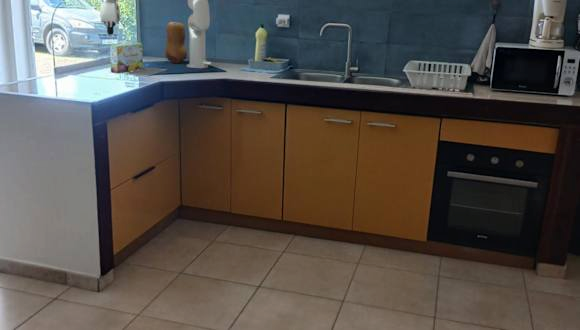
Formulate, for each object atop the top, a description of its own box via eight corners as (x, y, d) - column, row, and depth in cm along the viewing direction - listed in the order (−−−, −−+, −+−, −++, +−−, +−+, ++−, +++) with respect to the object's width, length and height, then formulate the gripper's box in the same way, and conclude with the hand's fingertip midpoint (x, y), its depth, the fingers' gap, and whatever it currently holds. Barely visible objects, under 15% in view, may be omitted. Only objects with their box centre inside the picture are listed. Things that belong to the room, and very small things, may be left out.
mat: (167, 70, 346) (167, 69, 346) (148, 76, 324) (148, 75, 323) (145, 68, 349) (145, 67, 349) (124, 74, 327) (124, 73, 327)
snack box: (118, 73, 329) (117, 45, 324) (110, 72, 331) (109, 44, 326) (143, 69, 347) (142, 42, 342) (135, 68, 349) (134, 41, 345)
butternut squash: (190, 62, 380) (189, 21, 372) (183, 65, 367) (183, 23, 360) (168, 60, 382) (168, 20, 374) (161, 63, 369) (160, 22, 361)
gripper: (125, 1, 331) (125, 34, 337) (100, -1, 335) (102, 32, 340) (118, 1, 324) (119, 35, 330) (93, -1, 328) (94, 33, 333)
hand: (110, 34), depth 335 cm, fingers closed
